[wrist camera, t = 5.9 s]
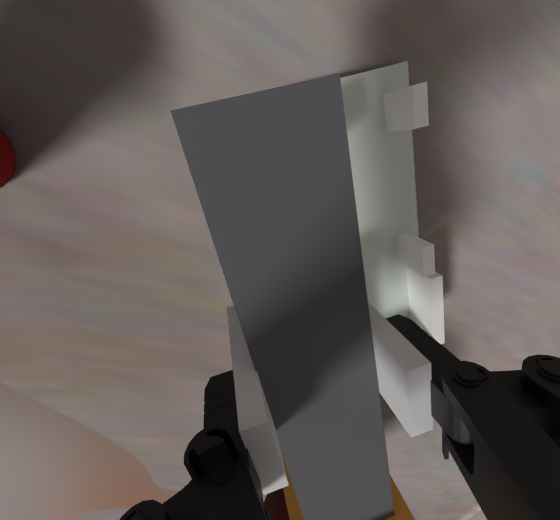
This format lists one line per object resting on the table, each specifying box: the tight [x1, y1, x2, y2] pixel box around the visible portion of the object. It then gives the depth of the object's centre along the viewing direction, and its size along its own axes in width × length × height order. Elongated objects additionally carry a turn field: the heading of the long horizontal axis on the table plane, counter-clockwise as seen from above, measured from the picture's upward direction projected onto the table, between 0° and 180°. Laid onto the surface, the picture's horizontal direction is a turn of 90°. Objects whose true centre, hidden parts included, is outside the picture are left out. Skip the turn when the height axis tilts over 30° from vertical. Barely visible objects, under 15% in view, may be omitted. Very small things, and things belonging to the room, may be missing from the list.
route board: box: [340, 61, 445, 344], centre depth 28 cm, size 27×11×5 cm, turn 14°
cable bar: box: [171, 74, 415, 520], centre depth 13 cm, size 23×6×6 cm, turn 13°
